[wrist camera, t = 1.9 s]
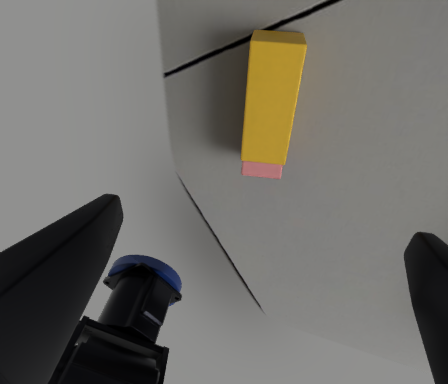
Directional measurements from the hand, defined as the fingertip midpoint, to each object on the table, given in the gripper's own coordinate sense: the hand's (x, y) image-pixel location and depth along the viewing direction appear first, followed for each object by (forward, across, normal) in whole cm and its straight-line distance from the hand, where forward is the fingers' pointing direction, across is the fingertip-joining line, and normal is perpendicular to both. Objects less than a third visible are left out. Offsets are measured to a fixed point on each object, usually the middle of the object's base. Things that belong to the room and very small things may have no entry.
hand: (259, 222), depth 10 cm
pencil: (+10, 0, 0) cm, 10 cm away
